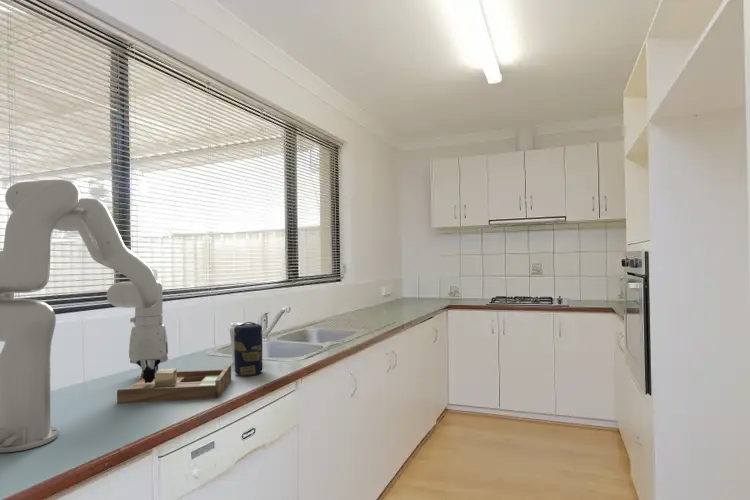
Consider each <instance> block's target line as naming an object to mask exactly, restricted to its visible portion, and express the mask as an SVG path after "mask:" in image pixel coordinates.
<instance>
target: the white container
mask: <svg viewBox="0 0 750 500" xmlns="http://www.w3.org/2000/svg"><path fill="white" fill-rule="evenodd" d="M246 322H247V321H237V322H232V323H230V325H229V327H228V331H229V336H230V346H231V347H230V348H231V349H230V350H231V358H232V363H233V364H234V365H235V357H234V328H235V326H237V325H241V324H243V323H246ZM246 324H251V323H246Z"/></svg>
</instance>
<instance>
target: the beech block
mask: <svg viewBox="0 0 750 500" xmlns="http://www.w3.org/2000/svg"><path fill="white" fill-rule="evenodd" d="M177 371H178V369H177V368H165V369H164V368H163V369H158V371H157V372H156V373H155V387H161V386H173V385H174V384H175V383H176V382H177Z"/></svg>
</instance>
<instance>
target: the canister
mask: <svg viewBox="0 0 750 500" xmlns="http://www.w3.org/2000/svg"><path fill="white" fill-rule="evenodd" d="M245 322H246V323H251V324H246V323H243V324H241V325H237V326H235V328H234V357H235V364H234V373H235V374H236V375H238V376H255V375H258V374H260V373H262V372H263V327H262V325H261V324H260V323H256V322H252V321H245Z"/></svg>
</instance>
